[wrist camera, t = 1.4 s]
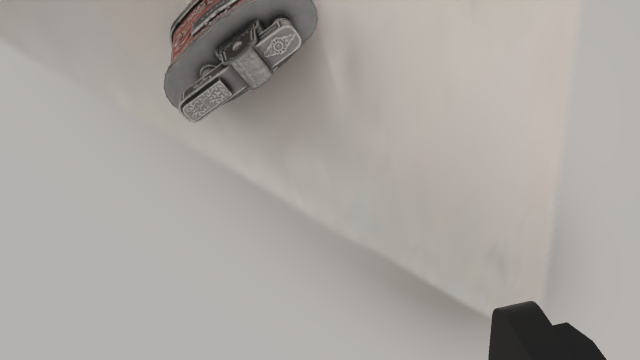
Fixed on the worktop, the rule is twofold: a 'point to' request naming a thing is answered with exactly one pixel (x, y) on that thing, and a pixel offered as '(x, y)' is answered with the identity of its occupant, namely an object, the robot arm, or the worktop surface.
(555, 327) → the robot arm
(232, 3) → the lighter
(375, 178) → the worktop surface
